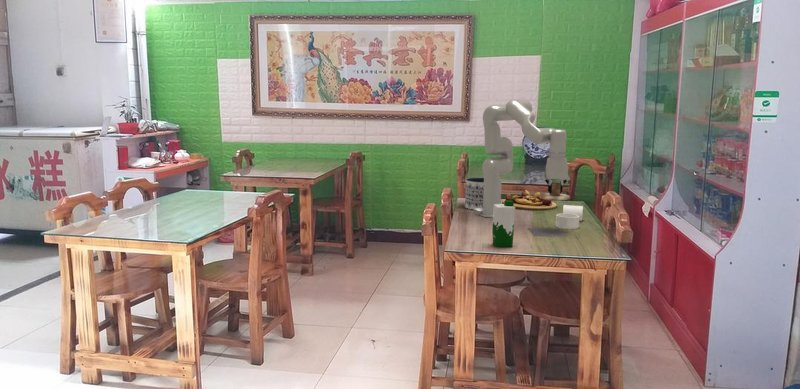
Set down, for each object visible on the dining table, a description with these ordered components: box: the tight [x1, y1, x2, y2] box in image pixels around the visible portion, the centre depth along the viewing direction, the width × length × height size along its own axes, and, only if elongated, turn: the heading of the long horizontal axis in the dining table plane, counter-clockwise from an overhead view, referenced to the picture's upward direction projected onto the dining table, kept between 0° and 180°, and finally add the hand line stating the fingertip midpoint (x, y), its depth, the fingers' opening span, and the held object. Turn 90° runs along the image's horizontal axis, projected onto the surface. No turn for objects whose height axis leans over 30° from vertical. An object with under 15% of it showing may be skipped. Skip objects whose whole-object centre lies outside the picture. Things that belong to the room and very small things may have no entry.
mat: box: [527, 227, 569, 237], centre depth 304 cm, size 16×16×1 cm
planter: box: [464, 177, 484, 211], centre depth 364 cm, size 18×18×16 cm
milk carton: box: [491, 200, 516, 248], centre depth 278 cm, size 9×9×20 cm
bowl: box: [555, 212, 580, 230], centre depth 317 cm, size 11×11×6 cm
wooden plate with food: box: [501, 189, 558, 212], centre depth 374 cm, size 32×32×8 cm
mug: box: [562, 204, 584, 222], centre depth 335 cm, size 12×10×8 cm
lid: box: [540, 182, 571, 201], centre depth 304 cm, size 14×14×7 cm
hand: (554, 192), depth 305 cm, fingers closed on lid, 4 cm apart
